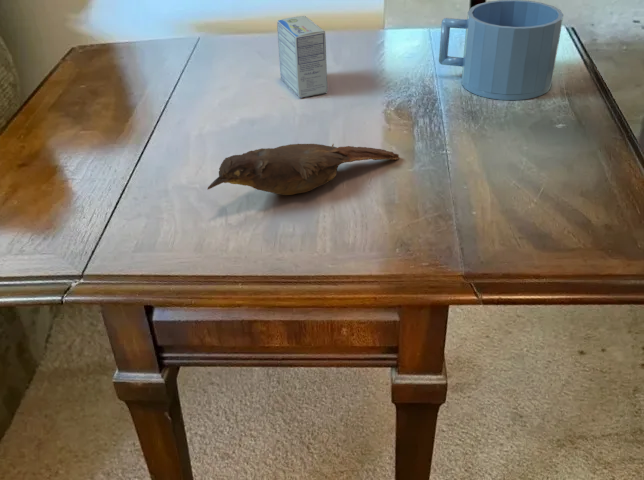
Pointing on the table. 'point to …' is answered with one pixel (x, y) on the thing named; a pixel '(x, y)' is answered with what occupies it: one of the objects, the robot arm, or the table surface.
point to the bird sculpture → (292, 166)
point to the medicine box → (302, 56)
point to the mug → (506, 48)
